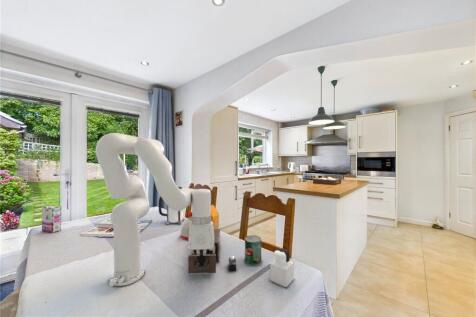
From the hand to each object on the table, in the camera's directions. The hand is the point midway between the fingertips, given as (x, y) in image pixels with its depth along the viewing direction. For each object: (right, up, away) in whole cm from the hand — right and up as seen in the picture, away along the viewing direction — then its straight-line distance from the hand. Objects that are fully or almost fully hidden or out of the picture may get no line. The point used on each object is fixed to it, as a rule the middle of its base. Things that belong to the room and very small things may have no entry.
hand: (201, 263), depth 81 cm
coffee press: (-35, -6, +70) cm, 79 cm away
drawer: (-1, -5, +8) cm, 10 cm away
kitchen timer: (-14, -6, +45) cm, 48 cm away
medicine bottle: (+33, -6, -1) cm, 33 cm away
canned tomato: (+22, -6, +14) cm, 27 cm away
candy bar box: (-112, -6, +53) cm, 124 cm away
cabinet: (-1, -6, +22) cm, 23 cm away
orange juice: (-2, -6, +41) cm, 41 cm away
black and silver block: (+12, -6, +9) cm, 17 cm away
